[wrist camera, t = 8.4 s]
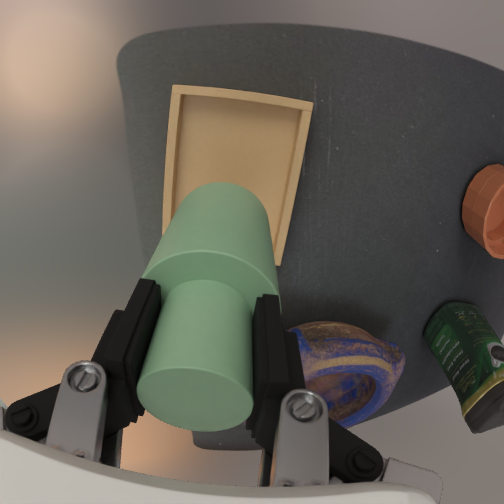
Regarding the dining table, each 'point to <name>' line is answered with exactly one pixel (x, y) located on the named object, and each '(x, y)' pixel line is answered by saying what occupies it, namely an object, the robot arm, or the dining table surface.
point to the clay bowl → (486, 209)
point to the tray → (236, 149)
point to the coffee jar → (470, 362)
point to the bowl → (348, 368)
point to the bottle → (208, 309)
